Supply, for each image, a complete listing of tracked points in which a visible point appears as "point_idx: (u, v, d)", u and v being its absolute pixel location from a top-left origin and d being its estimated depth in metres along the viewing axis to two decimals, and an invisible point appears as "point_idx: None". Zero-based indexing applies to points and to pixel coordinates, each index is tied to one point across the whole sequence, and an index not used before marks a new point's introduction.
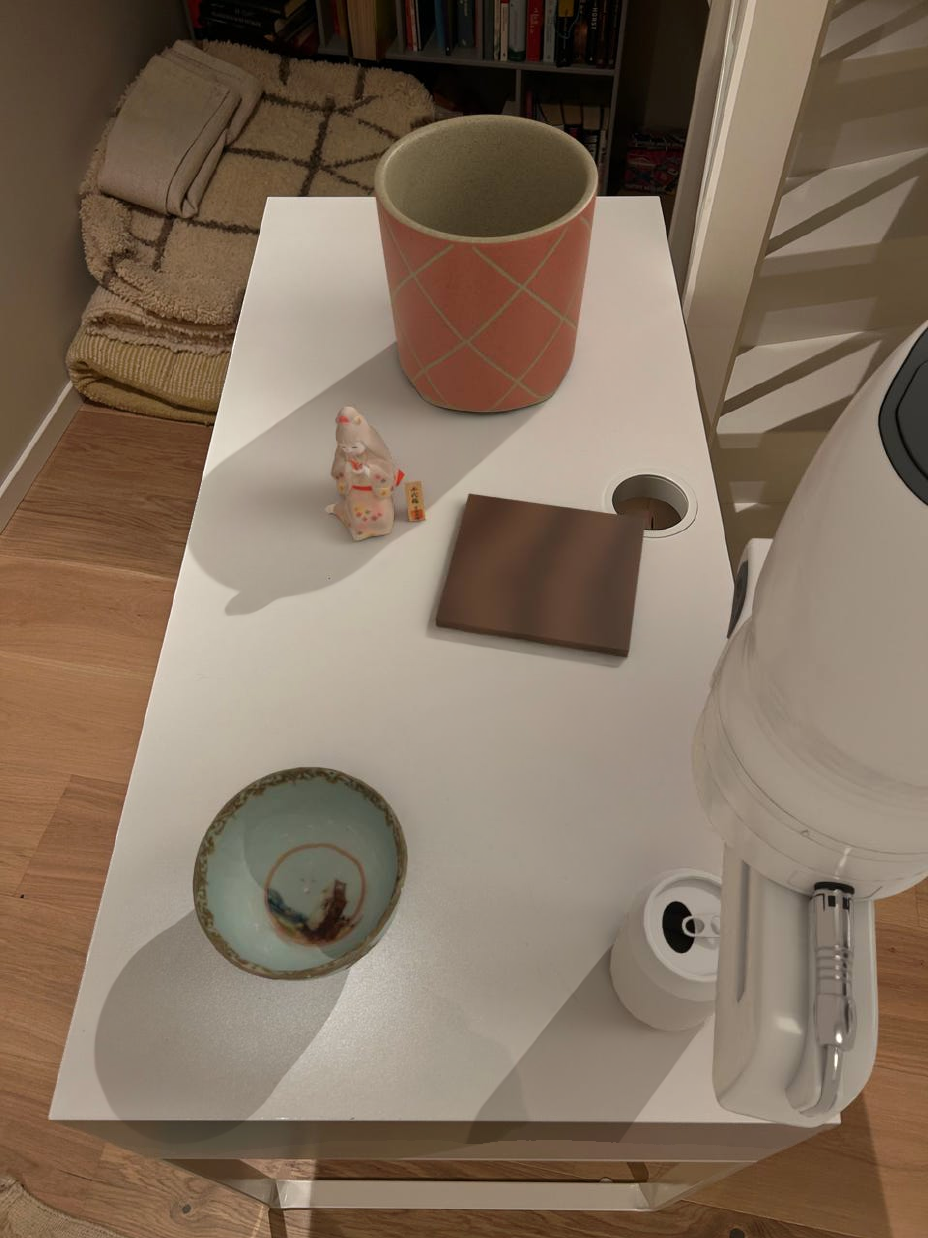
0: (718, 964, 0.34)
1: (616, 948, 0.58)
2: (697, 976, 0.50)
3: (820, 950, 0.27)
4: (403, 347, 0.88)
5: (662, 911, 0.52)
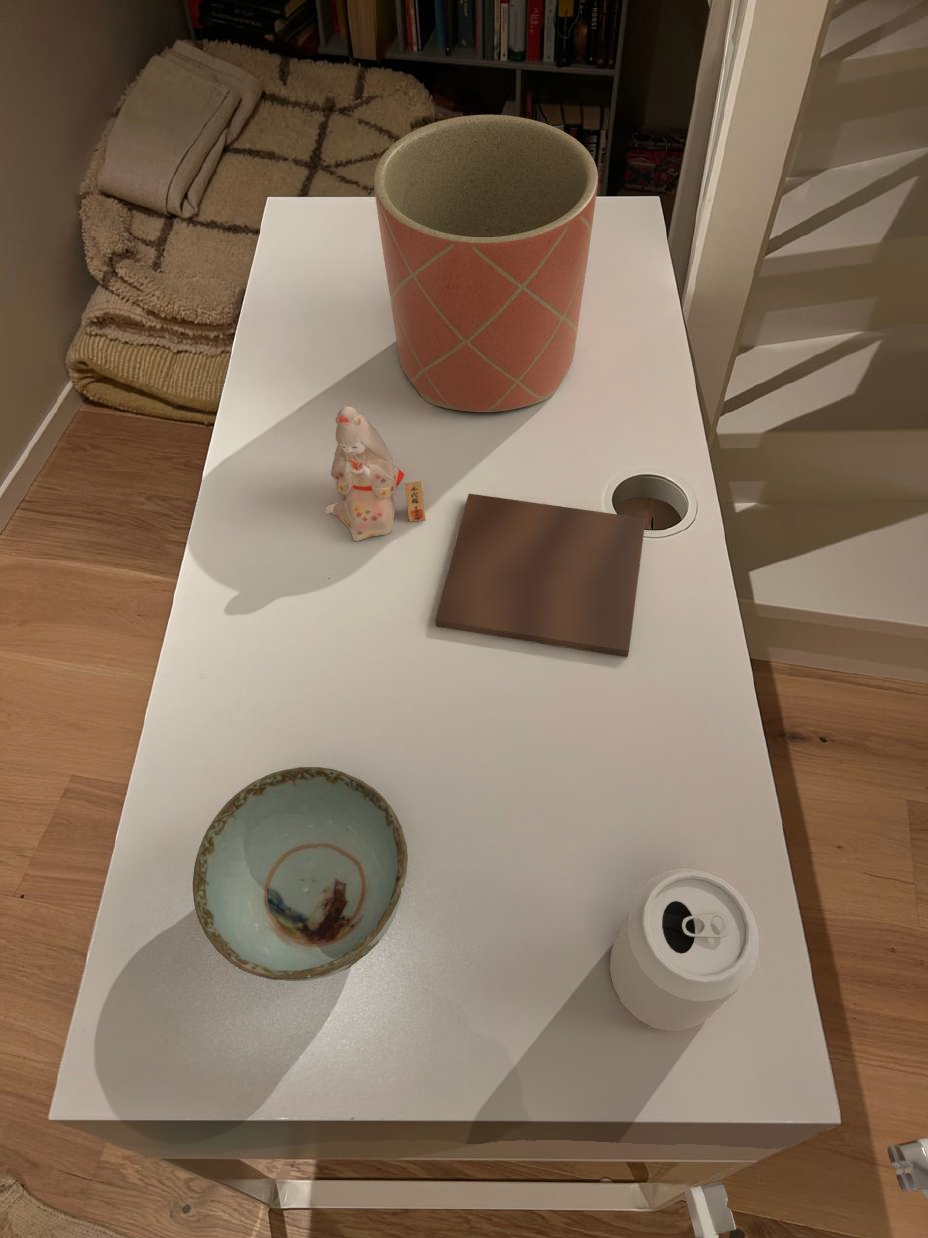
0: None
1: (616, 948, 0.58)
2: (697, 976, 0.50)
3: None
4: (403, 347, 0.88)
5: (662, 911, 0.52)
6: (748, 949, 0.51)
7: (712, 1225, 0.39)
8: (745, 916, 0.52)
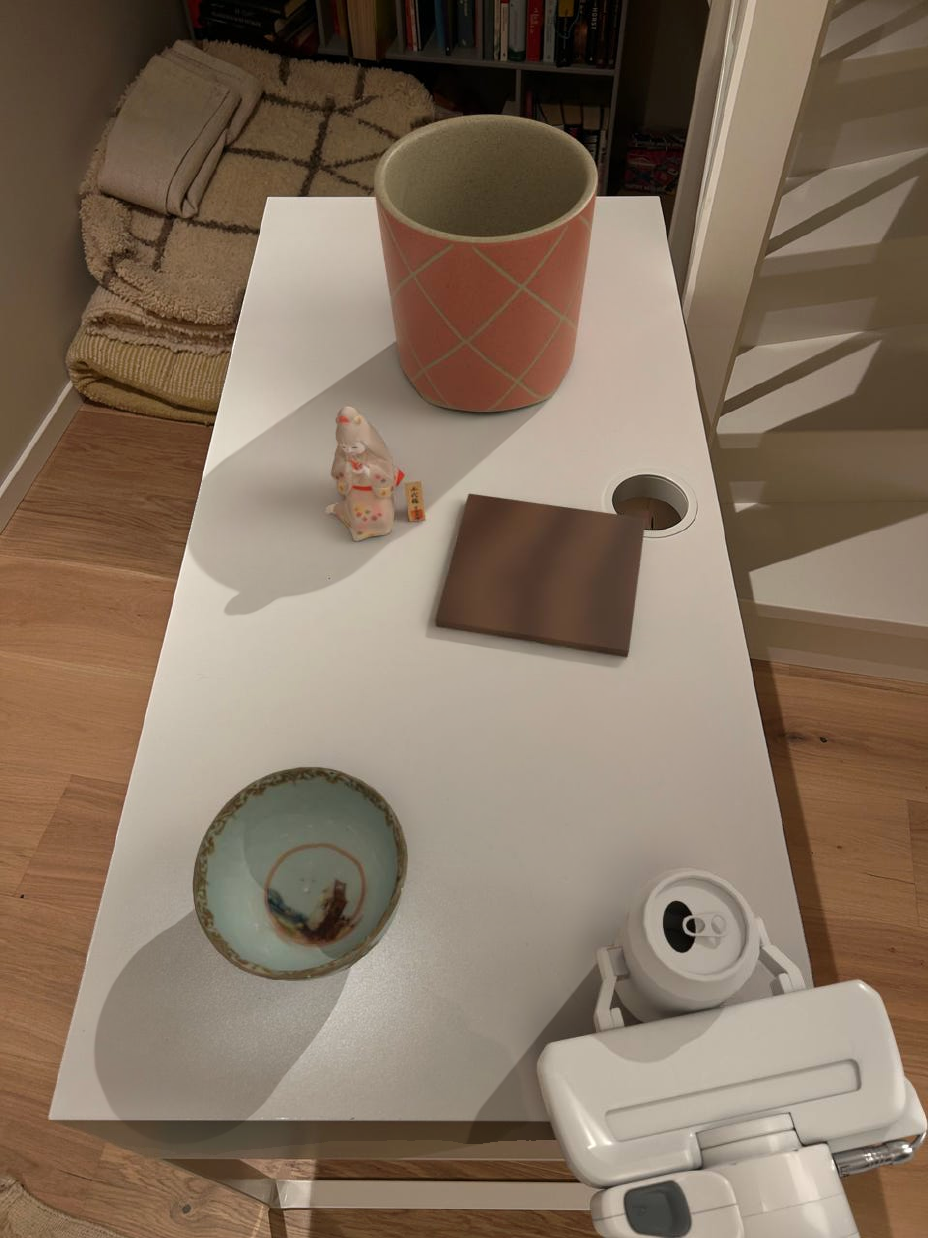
0: None
1: None
2: (698, 975, 0.50)
3: None
4: (403, 347, 0.88)
5: (662, 910, 0.52)
6: (749, 948, 0.51)
7: (612, 970, 0.55)
8: (746, 915, 0.52)
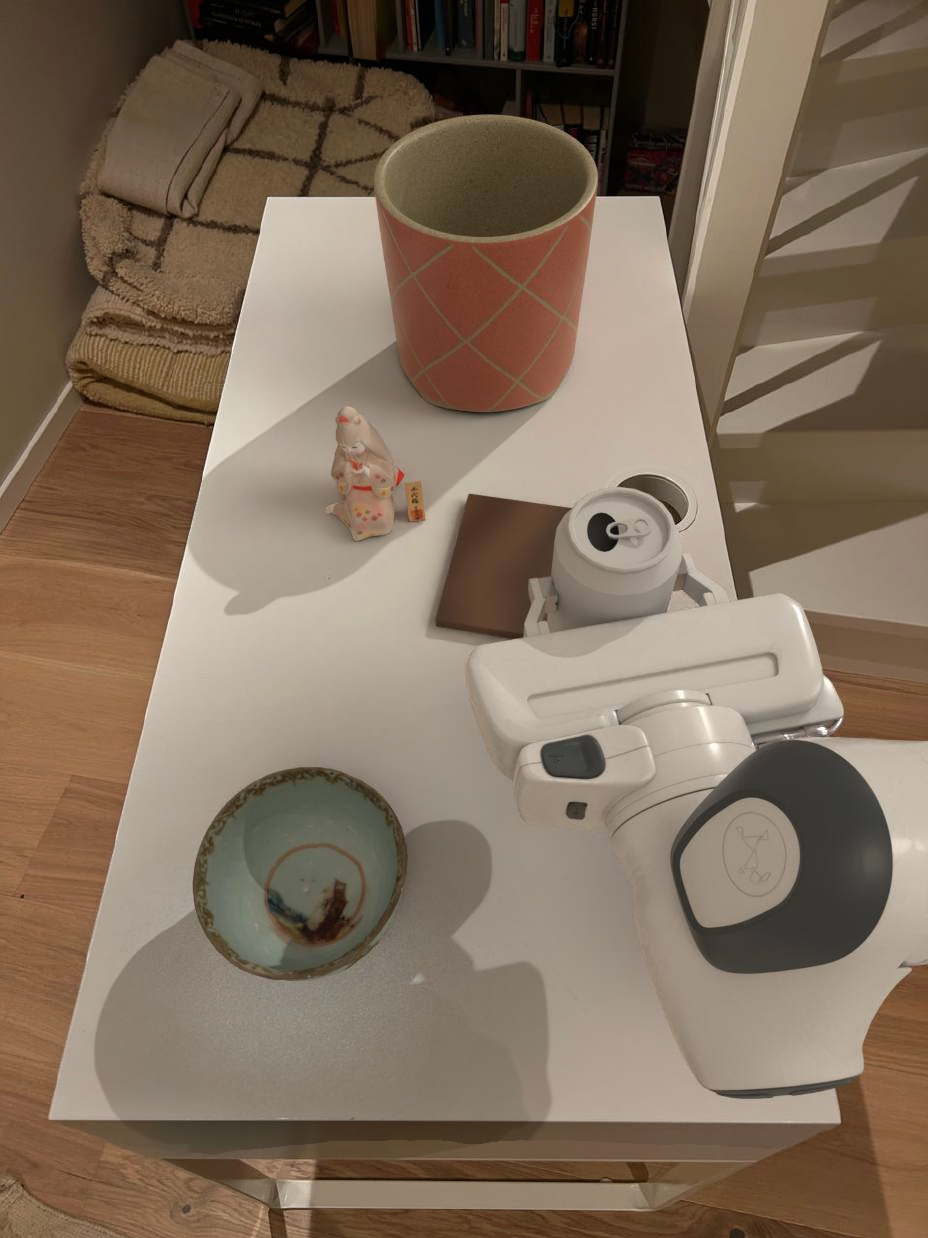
0: None
1: None
2: (618, 565, 0.51)
3: None
4: (403, 347, 0.88)
5: (587, 520, 0.54)
6: (669, 544, 0.52)
7: (542, 593, 0.56)
8: (668, 520, 0.53)
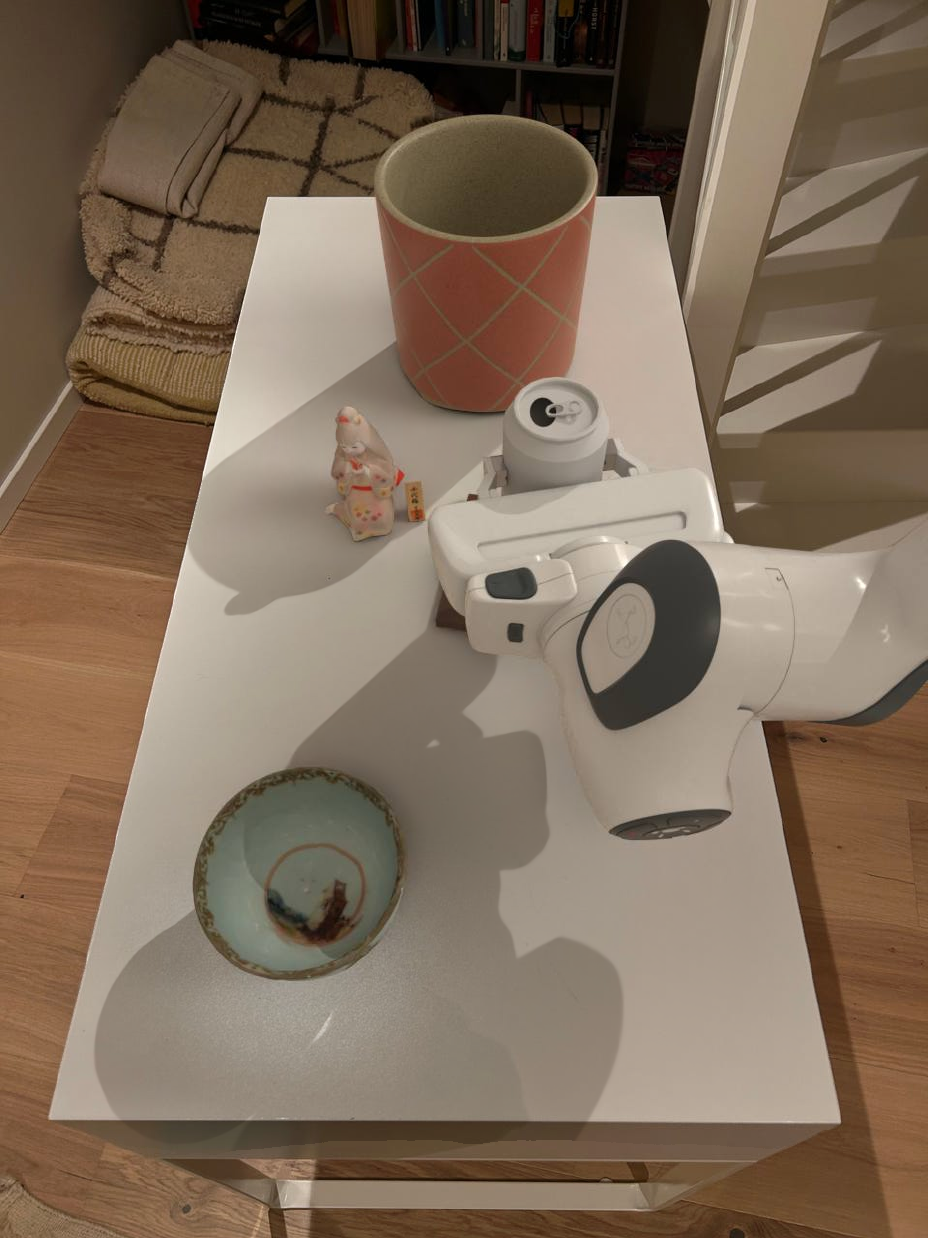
0: None
1: None
2: (554, 435, 0.62)
3: None
4: (403, 347, 0.88)
5: (530, 403, 0.64)
6: (597, 420, 0.63)
7: (493, 468, 0.66)
8: (597, 402, 0.64)
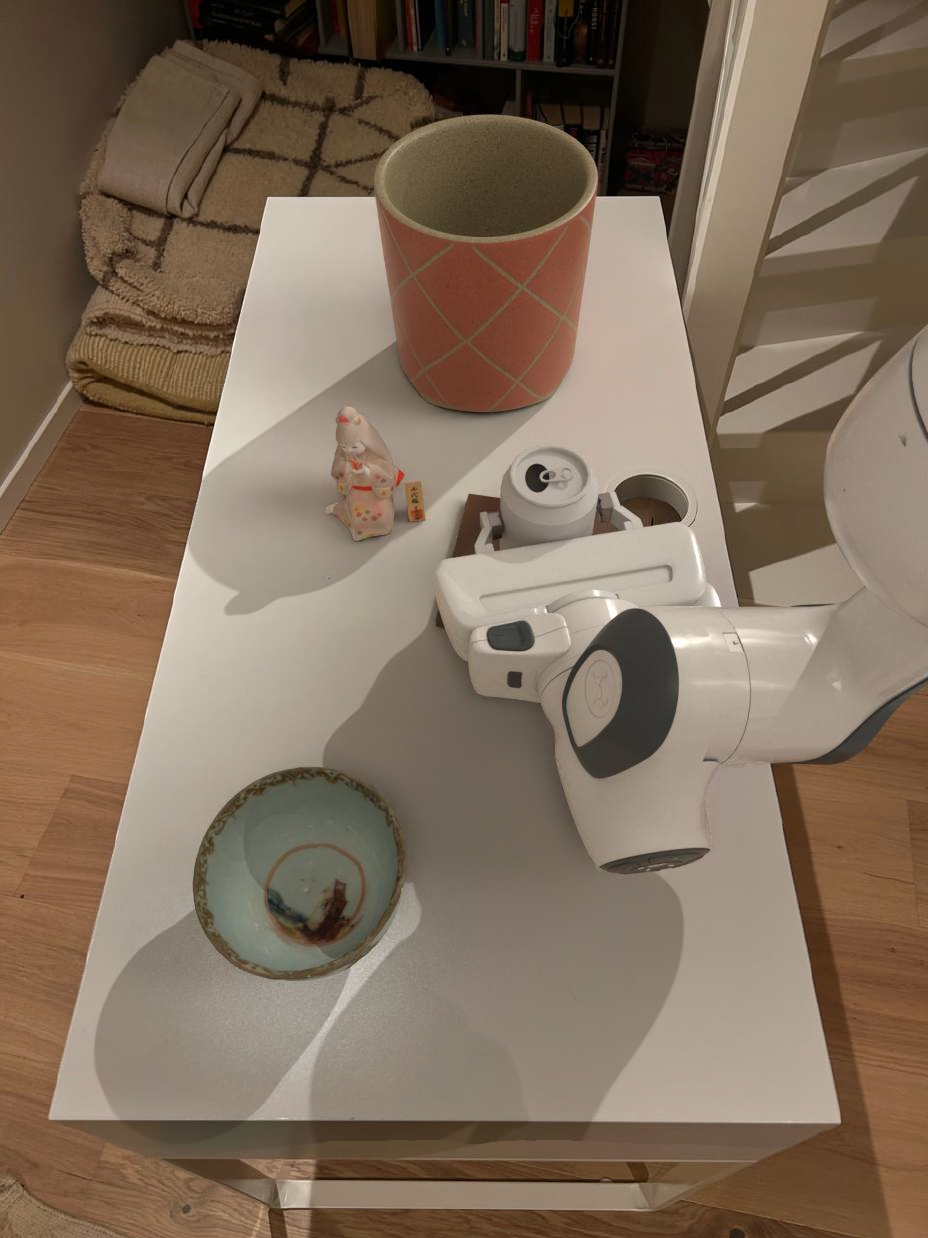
0: None
1: None
2: (547, 501, 0.67)
3: None
4: (403, 347, 0.88)
5: (525, 469, 0.70)
6: (586, 486, 0.68)
7: (489, 523, 0.71)
8: (587, 469, 0.69)
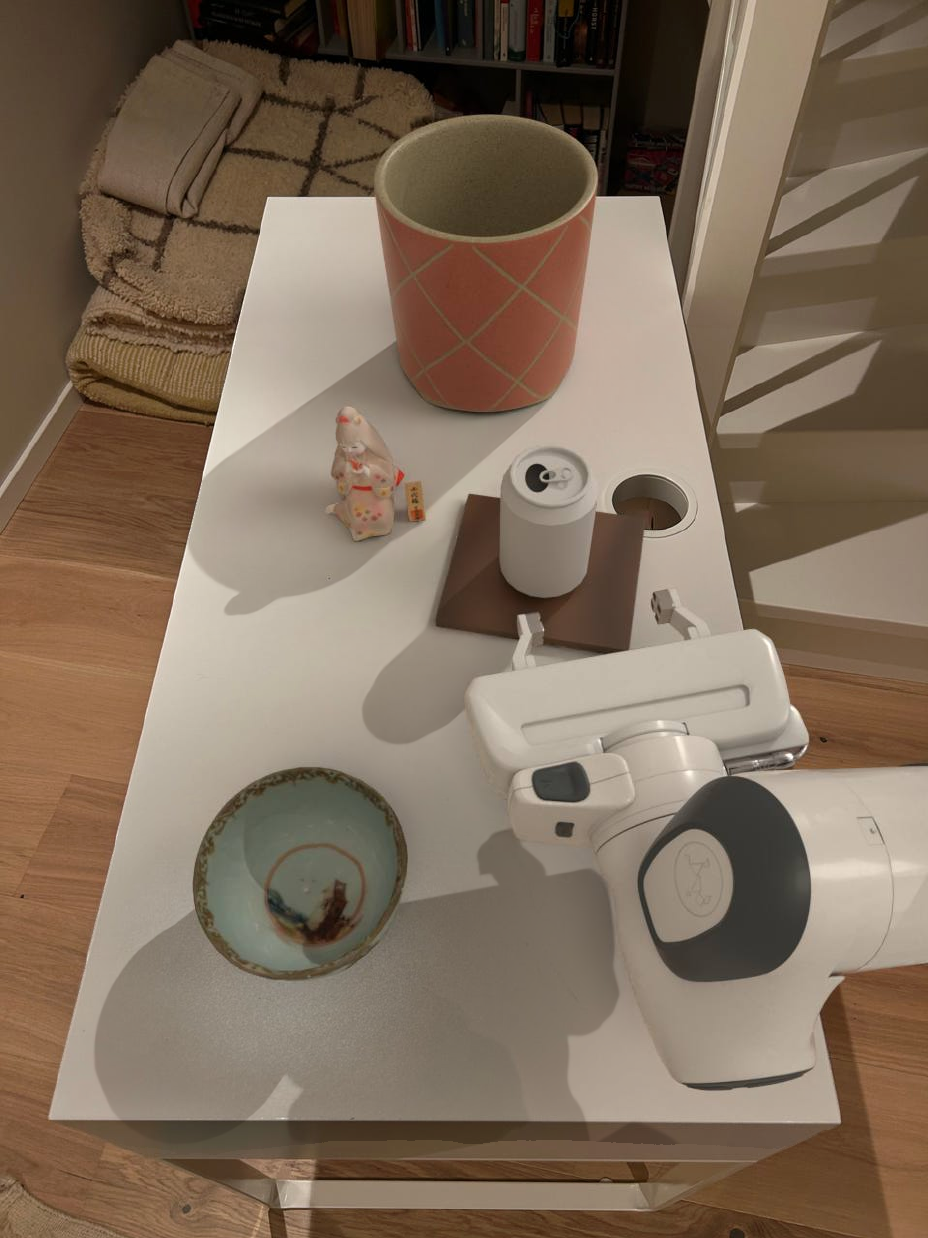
0: None
1: None
2: (547, 501, 0.67)
3: None
4: (403, 347, 0.88)
5: (525, 469, 0.70)
6: (586, 486, 0.68)
7: (528, 629, 0.61)
8: (587, 469, 0.69)
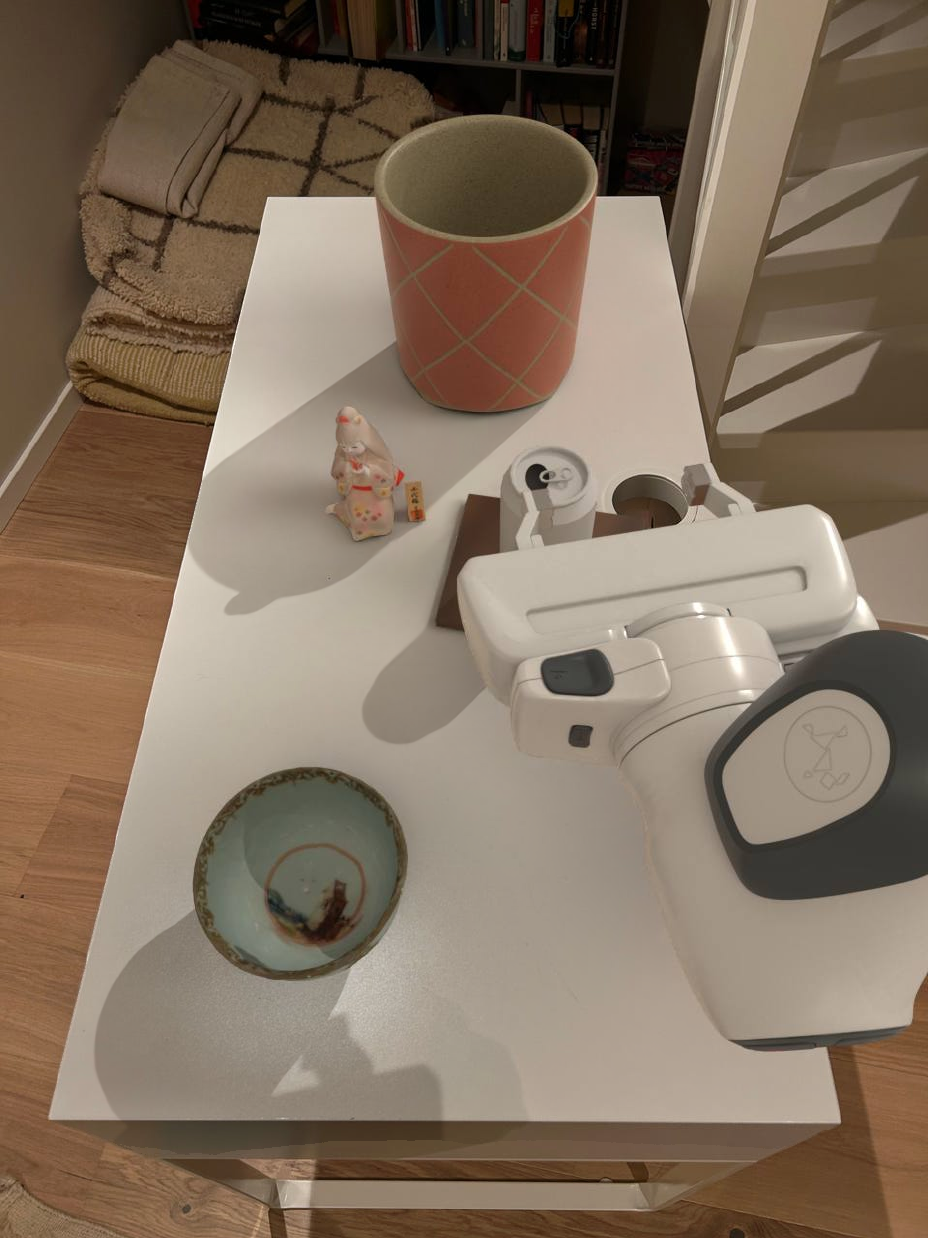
0: None
1: None
2: None
3: None
4: (403, 347, 0.88)
5: (525, 469, 0.70)
6: (586, 486, 0.68)
7: (535, 506, 0.50)
8: (587, 469, 0.69)
